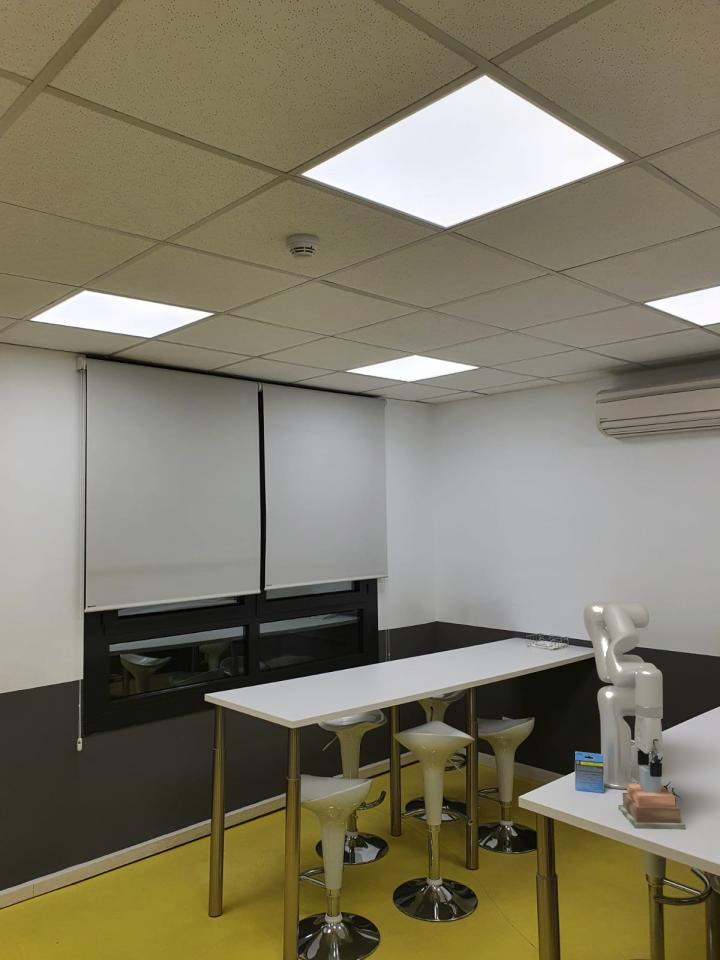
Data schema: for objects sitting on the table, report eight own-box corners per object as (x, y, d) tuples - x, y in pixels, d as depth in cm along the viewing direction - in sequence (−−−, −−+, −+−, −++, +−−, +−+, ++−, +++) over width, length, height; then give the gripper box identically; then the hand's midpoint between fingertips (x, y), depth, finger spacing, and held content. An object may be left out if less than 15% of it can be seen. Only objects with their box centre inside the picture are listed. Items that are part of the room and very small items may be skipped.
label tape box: (603, 789, 236) (602, 750, 237) (604, 793, 232) (603, 754, 233) (575, 786, 238) (574, 748, 239) (575, 790, 234) (574, 751, 235)
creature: (686, 807, 224) (672, 792, 232) (688, 791, 223) (673, 777, 231) (662, 808, 223) (649, 793, 231) (664, 792, 222) (650, 778, 230)
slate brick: (639, 786, 215) (639, 764, 215) (655, 787, 215) (654, 764, 215) (645, 792, 210) (644, 768, 211) (660, 792, 210) (660, 769, 211)
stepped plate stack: (618, 809, 219) (618, 781, 220) (665, 810, 219) (665, 782, 219) (635, 828, 205) (634, 798, 206) (685, 829, 205) (684, 799, 205)
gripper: (625, 703, 223) (626, 760, 222) (647, 719, 206) (647, 781, 205) (650, 703, 223) (651, 760, 222) (673, 719, 205) (674, 781, 205)
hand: (649, 770), depth 213 cm, fingers open, 9 cm apart
